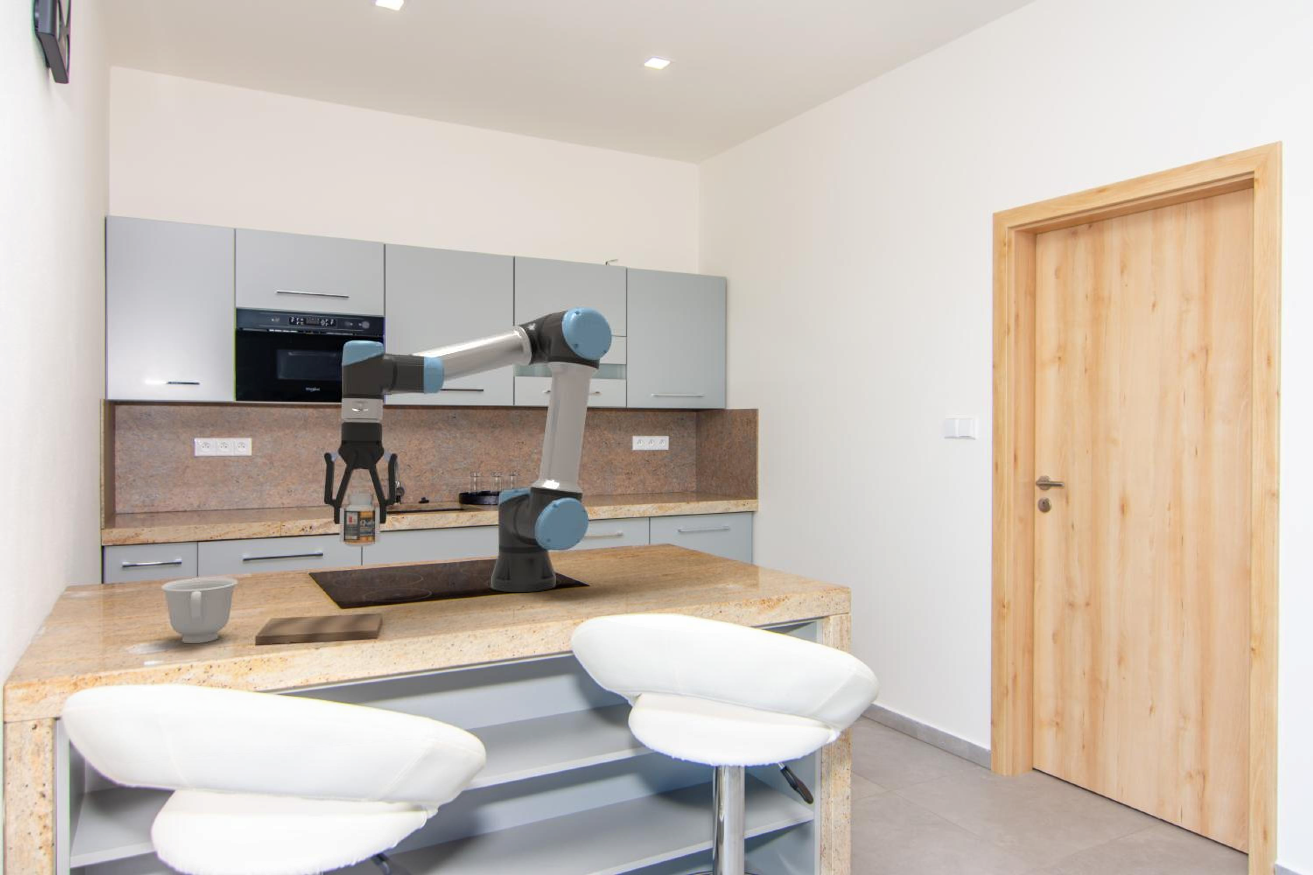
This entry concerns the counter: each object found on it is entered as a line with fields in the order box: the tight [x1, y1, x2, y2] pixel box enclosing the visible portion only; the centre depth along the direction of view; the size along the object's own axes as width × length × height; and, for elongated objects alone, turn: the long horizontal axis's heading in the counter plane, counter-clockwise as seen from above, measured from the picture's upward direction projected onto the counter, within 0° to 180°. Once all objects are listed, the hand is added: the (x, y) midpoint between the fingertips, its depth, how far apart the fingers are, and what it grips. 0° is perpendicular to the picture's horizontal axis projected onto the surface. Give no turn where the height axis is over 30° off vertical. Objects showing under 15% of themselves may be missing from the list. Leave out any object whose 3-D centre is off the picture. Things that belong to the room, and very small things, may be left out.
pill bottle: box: [344, 492, 377, 548], centre depth 166 cm, size 6×6×10 cm
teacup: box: [160, 576, 239, 644], centre depth 151 cm, size 12×15×10 cm
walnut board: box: [254, 612, 383, 646], centre depth 158 cm, size 20×14×2 cm
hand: (360, 540), depth 166 cm, fingers closed on pill bottle, 6 cm apart
